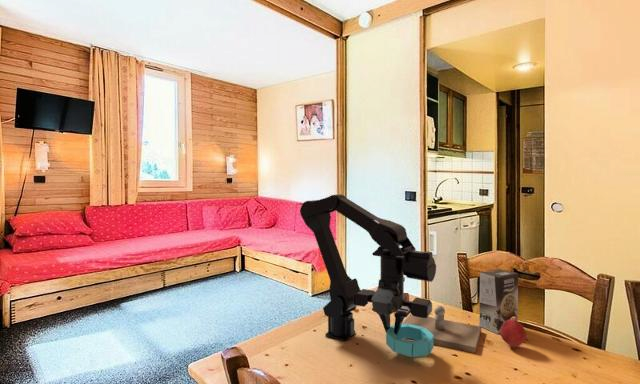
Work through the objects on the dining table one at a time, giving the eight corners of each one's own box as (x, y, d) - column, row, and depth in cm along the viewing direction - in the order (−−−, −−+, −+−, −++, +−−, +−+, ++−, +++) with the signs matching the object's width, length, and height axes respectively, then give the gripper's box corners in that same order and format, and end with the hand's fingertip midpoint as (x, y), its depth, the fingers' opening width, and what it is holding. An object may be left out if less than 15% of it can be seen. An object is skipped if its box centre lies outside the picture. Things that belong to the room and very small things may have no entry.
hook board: (396, 335, 97) (396, 307, 97) (411, 318, 110) (411, 293, 109) (475, 353, 87) (475, 321, 87) (481, 331, 99) (481, 304, 99)
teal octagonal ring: (381, 348, 85) (381, 336, 84) (395, 331, 94) (395, 320, 94) (426, 360, 79) (426, 347, 79) (436, 341, 88) (436, 330, 88)
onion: (501, 350, 89) (502, 319, 88) (498, 340, 94) (499, 311, 94) (528, 354, 87) (528, 322, 86) (523, 344, 92) (523, 314, 92)
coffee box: (498, 334, 98) (498, 277, 97) (478, 326, 103) (478, 271, 103) (518, 328, 102) (519, 272, 101) (498, 320, 108) (499, 268, 107)
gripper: (344, 277, 86) (344, 340, 86) (421, 289, 76) (421, 359, 77) (362, 267, 96) (362, 324, 96) (432, 276, 86) (432, 339, 87)
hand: (391, 335), depth 89 cm, fingers closed on teal octagonal ring, 2 cm apart
